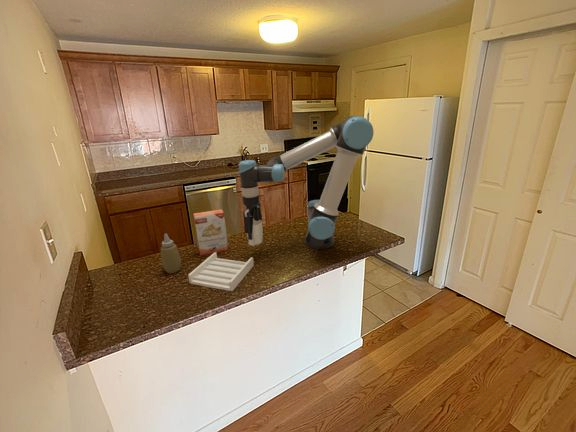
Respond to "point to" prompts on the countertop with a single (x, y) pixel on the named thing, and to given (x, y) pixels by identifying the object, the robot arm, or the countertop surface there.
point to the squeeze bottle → (170, 256)
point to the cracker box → (211, 231)
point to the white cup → (257, 231)
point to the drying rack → (220, 273)
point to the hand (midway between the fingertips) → (255, 241)
